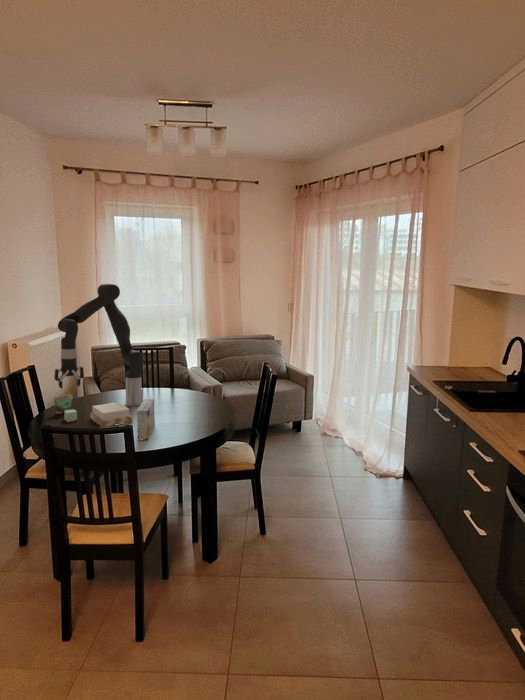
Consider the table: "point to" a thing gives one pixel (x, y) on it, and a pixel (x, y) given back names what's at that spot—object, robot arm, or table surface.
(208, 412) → the table surface
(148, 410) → the snack box
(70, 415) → the sage block
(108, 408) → the tower top slab
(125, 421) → the tower bottom slab
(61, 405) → the food container
